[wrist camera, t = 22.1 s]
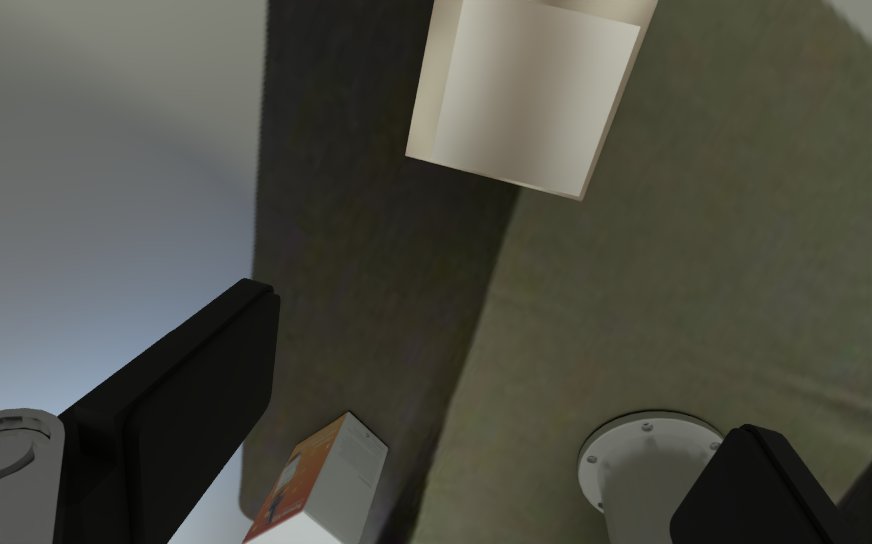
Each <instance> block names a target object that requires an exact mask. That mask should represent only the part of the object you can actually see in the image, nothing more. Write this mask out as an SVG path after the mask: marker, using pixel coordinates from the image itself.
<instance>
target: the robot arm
mask: <svg viewBox="0 0 872 544" xmlns="http://www.w3.org/2000/svg"><path fill="white" fill-rule="evenodd" d="M279 311H280V296H279V295H277V294H274V289H273V287H272V286H271V285H268V284H264V283H261V282H257V281H254V280H251V279H247V278H243V279H241V280H240V281H238V282H237V283H236V284H234V285H233V286H232V287H230V288H229V289H228V290H226V291H225V292H224V293H222V294H221V295H220V296H219V297H217V298H216V299H214V300H213V301H212V302H210V303H209V304H208V305H207V306H205V307H204V308H202V309H201V310H200V311H198V312H197V313H196V314H194V315H193V316H192V317H190V318H189V319H188V320H186V321H185V322H184V323H183V324H181V325H180V326H179V327H177V328H176V329H174V330H172V331H171V332H169V333H168V334H167V335H165V336H164V337H163V338H161V339H160V340H159V341H157V342H156V343H155V344H153V345H152V346H151V347H149V348H148V349H147V350H145V351H144V352H143V353H142V354H140V355H139V356H137V357H136V358H135V359H133V360H132V361H131V362H129V363H128V364H127V365H125V366H124V367H122V368H121V369H120V370H118V371H117V372H116V373H114V374H113V375H112V376H111V377H109V378H108V379H107V380H105V381H104V382H102V383H101V384H100V385H98V386H97V387H96V388H94V389H93V390H92V391H90V392H89V393H88V394H86V395H85V396H84V397H82V398H81V399H80V400H78V401H77V402H76V403H74V404H73V405H72V406H70V407H69V408H68V409H66V410H65V411H64V412H62V413H61V414H60V415H58V416H57V417H56V416H55V415H53V414H50V413H48V412H46V411H43V410H37V409H29V408H20V409H6V410H1V411H0V544H167V543H168V542H169V540H170V539H171V537H172V536H173V535H174V534H175V532H176V531H177V529H178V528H179V527H180V525H181V524H182V523H183V521H184V520H185V519H186V517H187V516H188V515H189V513H190V512H191V511H192V509H193V508H194V507H195V505H196V504H197V503H198V501H199V500H200V499H201V497H202V496H203V494H204V493H205V492H206V490H207V489H208V488H209V486H210V485H211V484H212V482H213V481H214V480H215V478H216V477H217V476H218V474H219V473H220V472H221V470H222V469H223V467H224V466H225V465H226V463H227V462H228V461H229V459H230V458H231V457H232V455H233V454H234V453H235V451H236V450H237V449H238V447H239V446H240V445H241V443H242V442H243V441H244V439H245V438H246V437H247V435H248V434H249V432H250V431H251V430H252V428H253V427H254V426H255V424H256V423H257V422H258V420H259V419H260V418H261V416H262V415H263V414H264V412H265V411H266V409H267V407H268V404H269V402H270V398H271V393H272V382H273V372H274V362H275V352H276V342H277V332H278V321H279ZM577 473H578V479H579V484H580V487H581V489H582V492H583V494H584V495H585V497H586V498H587V500H588V501H589V502H590V503H591V504H592V505H593V506H594V507H595V508H596V509H597V510H599V511H600V512H602V513H603V514H604V516H605V521H606V526H607V530H608V535H609V540H610V544H863V543H862V541H861V540H860V539H859V537H858V536H857V535H856V533H855V532H854V530H853V529H852V528H851V526H850V525H849V524H848V522H847V521H846V520H845V518H844V517H843V515H842V514H841V513H840V511H839V510H838V509H837V507H836V506H835V505H834V503H833V502H832V501H831V499H830V498H829V496H828V495H827V494H826V492H825V491H824V490H823V488H822V487H821V486H820V484H819V483H818V481H817V480H816V479H815V477H814V476H813V475H812V473H811V472H810V471H809V469H808V468H807V467H806V465H805V464H804V462H803V461H802V460H801V458H800V457H799V456H798V454H797V453H796V452H795V450H794V449H793V447H792V446H791V445H790V443H789V442H788V441H787V439H786V438H785V437H784V436H783V435H782V434H780V433H778V432H775V431H772V430H768V429H765V428H761V427H758V426H754V425H751V424H744V425H742V426H740V427H739V429H738V428H734V429H732V430H731V431H730V432H729V433H728V434H727V436H726V437H725V438H724V437H723V436H722V435H721V434H720V433H719V432H718V431H717V430H715V429H714V428H713V427H711V426H710V425H708V424H707V423H705V422H703V421H701V420H698V419H696V418H694V417H691V416H687V415H683V414H680V413H673V412H664V411H657V412H642V413H636V414H631V415H628V416H625V417H622V418H618V419H616V420H614V421H612V422H610V423H608V424H606V425H604V426H603V427H601V428H600V429H599V430H597V431H596V432H595V433H593V435H592V436H591V437H590V438H589V439H588V440H587V441H586V442H585V444H584V446H583V447H582V449H581V451H580V454H579V457H578V461H577Z"/></svg>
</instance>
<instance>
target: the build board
mask: <svg viewBox="0 0 872 544" xmlns="http://www.w3.org/2000/svg"><path fill="white" fill-rule="evenodd" d="M528 1H532V2H536V3H541V4H545V5H549V6H554V7H558V8H562V9H567V10H571V11H575V12H580V13H584V14H588V15H593V16H597V17H601V18H606V19H610V20H614V21H619V22H623V23H627V24H632V25H636V26H640V30H639V33H638V36H637V38H636V41H635V44H634V47H633V49H632V52H631V55H630V58H629V60H628V63H627V66H626V69H625V71H624V74H623V77H622V80H621V82H620V85H619V88H618V91H617V93H616V96H615V99H614V102H613V104H612V107H611V110H610V113H609V115H608V118H607V121H606V124H605V126H604V129H603V132H602V135H601V137H600V140H599V143H598V146H597V148H596V151H595V154H594V157H593V160H592V162H591V165H590V168H589V171H588V173H587V176H586V179H585V182H584V184H583V187H582V190H581V193H580V195H579V197H578V196H574V195H570V194H566V193H562V192H558V191H554V190H550V189H546V188H542V187H537V186H533V185H529V184H525V183H521V182H517V181H513V180H509V179H505V178H501V177H497V176H493V175H489V174H485V173H481V172H477V171H473V170H469V169H465V168H461V167H457V166H453V165H449V164H445V163H441V162H437V161H433V160H431V155H432V150H433V146H434V141H435V136H436V131H437V126H438V121H439V116H440V112H441V107H442V102H443V97H444V92H445V87H446V82H447V78H448V73H449V68H450V63H451V58H452V53H453V48H454V44H455V39H456V34H457V29H458V24H459V19H460V14H461V10H462V5H463V0H435V1H434V6H433V12H432V17H431V22H430V28H429V33H428V38H427V43H426V49H425V54H424V59H423V64H422V70H421V75H420V80H419V85H418V91H417V96H416V101H415V107H414V112H413V117H412V122H411V128H410V133H409V138H408V143H407V149H406V154H405V156H409V157H413V158H417V159H420V160H424V161H428V162H432V163H436V164H440V165H444V166H448V167H451V168H455V169H459V170H463V171H467V172H471V173H475V174H479V175H482V176H486V177H490V178H494V179H498V180H502V181H506V182H510V183H513V184H517V185H521V186H525V187H529V188H533V189H537V190H541V191H544V192H548V193H552V194H556V195H560V196H564V197H568V198H572V199H575V200H579V201H582V200H583V198H584V195H585V192H586V190H587V187H588V184H589V182H590V179H591V176H592V174H593V171H594V169H595V166H596V163H597V161H598V158H599V155H600V153H601V150H602V147H603V145H604V142H605V140H606V137H607V134H608V132H609V129H610V126H611V124H612V121H613V118H614V116H615V113H616V110H617V108H618V105H619V103H620V100H621V97H622V95H623V92H624V89H625V87H626V84H627V81H628V79H629V76H630V73H631V71H632V68H633V66H634V63H635V60H636V58H637V55H638V52H639V50H640V47H641V44H642V42H643V39H644V36H645V34H646V31H647V29H648V26H649V23H650V21H651V18H652V15H653V13H654V10H655V7H656V5H657V2H658V0H528Z"/></svg>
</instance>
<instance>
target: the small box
mask: <svg viewBox="0 0 872 544" xmlns="http://www.w3.org/2000/svg"><path fill="white" fill-rule="evenodd" d="M387 452H388V447H387V446H386V445H385V444H383V443H382V442H381V441H380V440H379V439H378V438H377V437H376V436H375V435H374V434H373V433H372V432H370V431H369V430H368V429H367V428H366V427H365V426H364V425H363V424H362V423H361V422H360V421H359V420H357V419H356V418H355V417H354V416H353V415H352V414H351V413H350V412H347V413H345V414H344V415H342V416H341V417H340V418H338V419H337V420H336V421H334V422H332V423H331V424H329V425H328V426H326V427H325V428H323V429H321V430H320V431H318V432H317V433H315V434H313V435H312V436H310V437H309V438H307V439H306V440H304V441H302V442H301V443H299V444H298V445H297V446H296V447H295V449H294V451H293V453H292V455H291V457H290V458H289V460H288V462H287V464H286V465H285V467H284V469H283V471H282V472H281V474H280V476H279V478H278V480H277V482H276V483H275V485H274V487H273V489H272V491H271V492H270V494H269V496H268V498H267V499H266V501H265V503H264V505H263V506H262V508H261V510H260V512H259V514H258V515H257V517H256V519H255V521H254V523H253V525H252V526H251V528H250V530H249V532H248V533H247V535H246V537H245V539H244V540H243V542H242V544H359V541H360V538H361V535H362V531H363V528H364V525H365V522H366V519H367V515H368V512H369V509H370V506H371V503H372V500H373V497H374V493H375V490H376V487H377V484H378V481H379V478H380V474H381V471H382V468H383V465H384V461H385V458H386V455H387Z"/></svg>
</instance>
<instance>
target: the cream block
mask: <svg viewBox="0 0 872 544" xmlns="http://www.w3.org/2000/svg"><path fill="white" fill-rule="evenodd" d="M639 30H640V26H636V25H632V24H627V23H623V22H619V21H614V20H610V19H606V18H601V17H597V16H593V15H588V14H584V13H580V12H575V11H571V10H567V9H562V8H558V7H554V6H549V5H545V4H541V3H536V2H532V1H528V0H463V5H462V10H461V14H460V19H459V24H458V29H457V34H456V39H455V44H454V48H453V53H452V58H451V63H450V68H449V73H448V78H447V82H446V87H445V92H444V97H443V102H442V107H441V112H440V116H439V121H438V126H437V131H436V136H435V141H434V146H433V150H432V155H431V160H433V161H437V162H441V163H445V164H449V165H453V166H457V167H461V168H465V169H469V170H473V171H477V172H481V173H485V174H489V175H493V176H497V177H501V178H505V179H509V180H513V181H517V182H521V183H525V184H529V185H533V186H537V187H542V188H546V189H550V190H554V191H558V192H562V193H566V194H570V195H574V196H578V197H579V195H580V193H581V190H582V187H583V184H584V182H585V179H586V176H587V173H588V171H589V168H590V165H591V162H592V160H593V157H594V154H595V151H596V148H597V146H598V143H599V140H600V137H601V135H602V132H603V129H604V126H605V124H606V121H607V118H608V115H609V113H610V110H611V107H612V104H613V102H614V99H615V96H616V93H617V91H618V88H619V85H620V82H621V80H622V77H623V74H624V71H625V69H626V66H627V63H628V60H629V58H630V55H631V52H632V49H633V47H634V44H635V41H636V38H637V36H638V33H639Z"/></svg>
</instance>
